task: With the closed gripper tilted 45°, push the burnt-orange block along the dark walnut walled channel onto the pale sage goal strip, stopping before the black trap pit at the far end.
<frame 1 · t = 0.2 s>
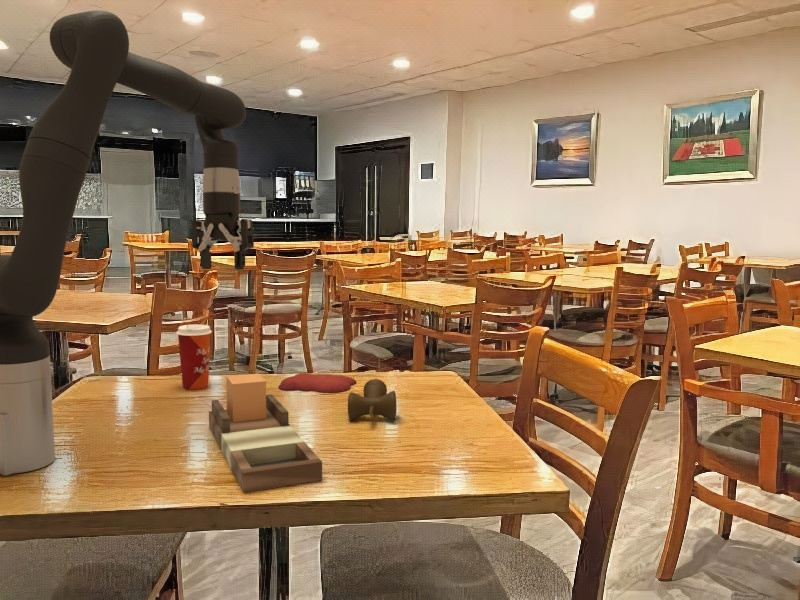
hand: (222, 269, 142), 28 cm above the table, tool pointing down, fingers open, 8 cm apart
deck: (249, 435, 124), on the table
block: (246, 415, 125), point 3 cm above the table, touching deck
kendama: (372, 415, 138), on the table
patty: (317, 387, 160), on the table
paper cup: (195, 387, 156), on the table
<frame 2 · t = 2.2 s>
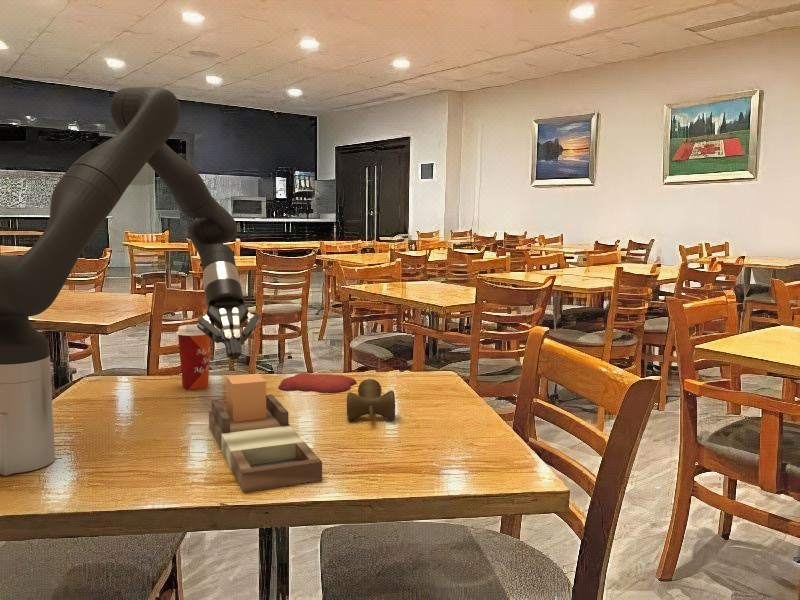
hand: (235, 357, 133), 12 cm above the table, tool tilted 45°, fingers closed
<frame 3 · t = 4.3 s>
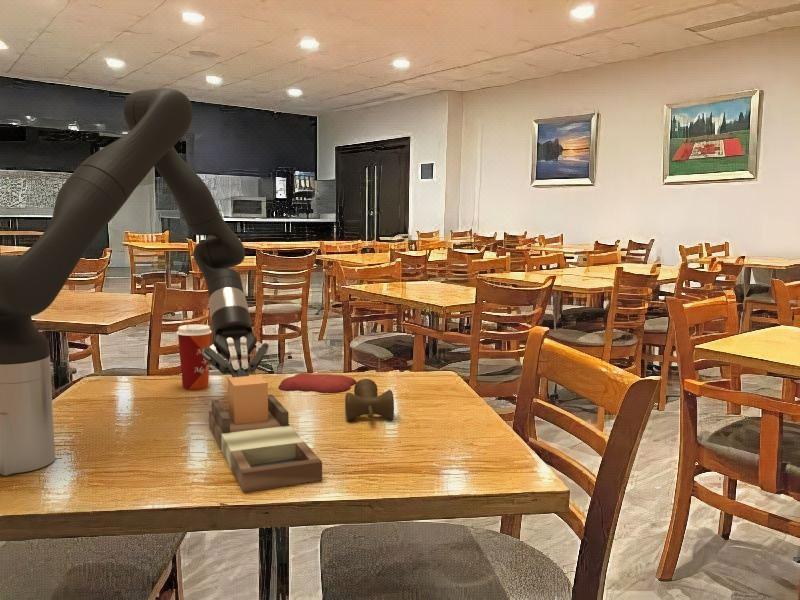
hand: (243, 389, 127), 7 cm above the table, tool tilted 45°, fingers closed
block: (247, 417, 124), point 3 cm above the table, touching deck
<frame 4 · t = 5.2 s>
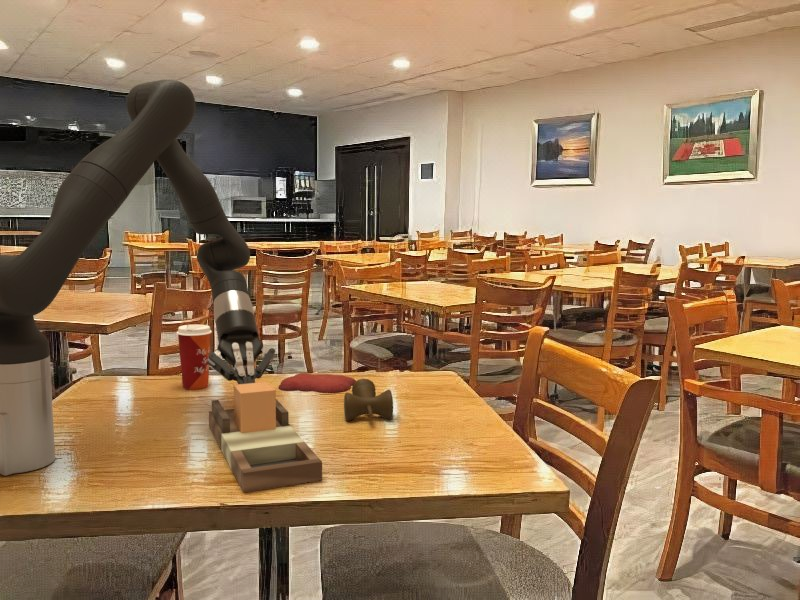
hand: (249, 397, 122), 7 cm above the table, tool tilted 45°, fingers closed
block: (254, 426, 120), point 3 cm above the table, touching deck, gripper
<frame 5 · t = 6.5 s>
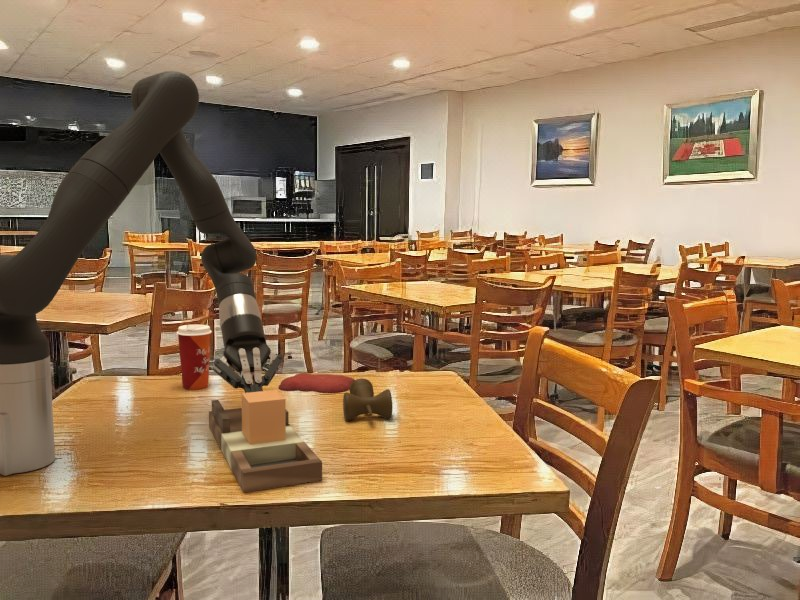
hand: (256, 405, 117), 7 cm above the table, tool tilted 45°, fingers closed
block: (263, 436, 114), point 3 cm above the table, touching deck, gripper
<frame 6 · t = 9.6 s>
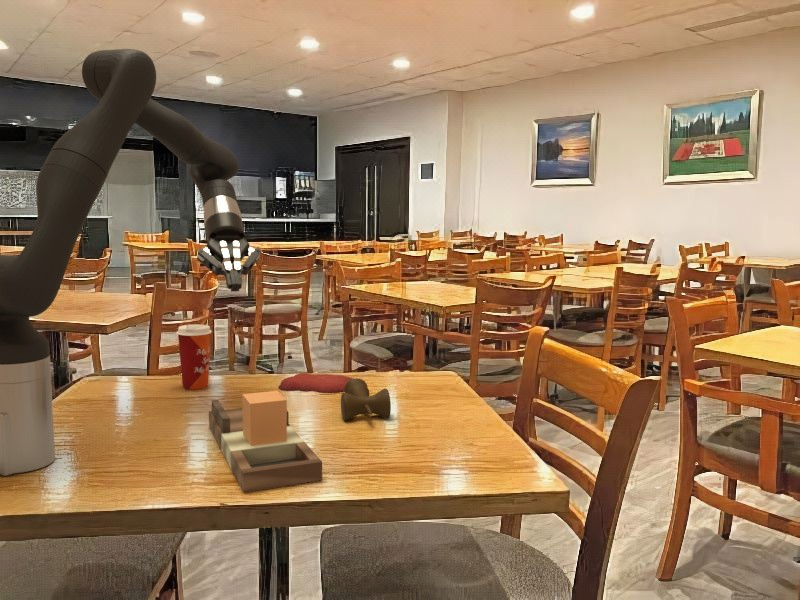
hand: (235, 288, 130), 26 cm above the table, tool tilted 45°, fingers closed
block: (264, 437, 114), point 3 cm above the table, touching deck
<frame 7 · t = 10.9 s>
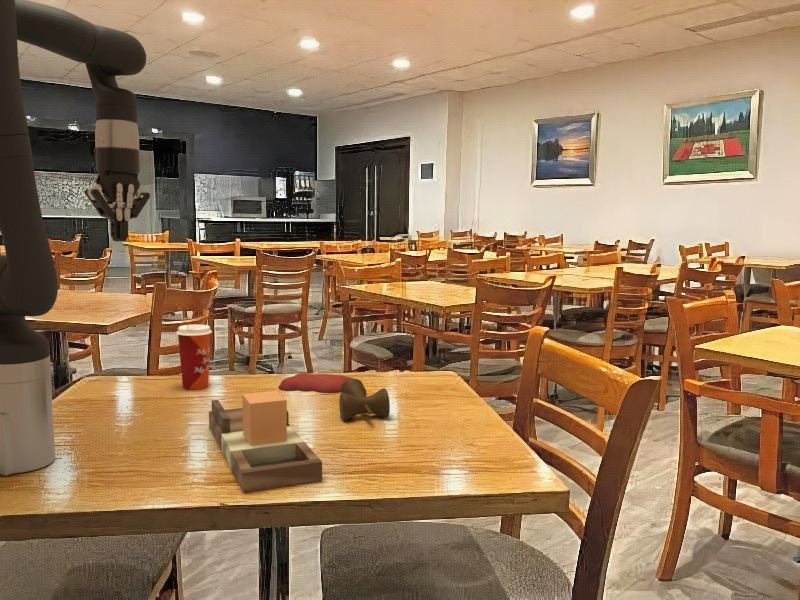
hand: (119, 241, 127), 34 cm above the table, tool pointing down, fingers closed
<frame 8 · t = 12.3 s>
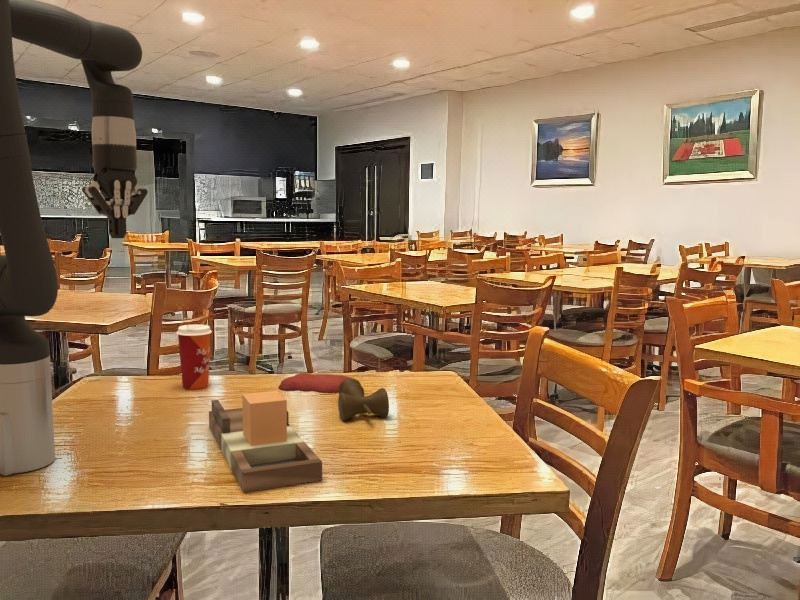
hand: (117, 238, 127), 35 cm above the table, tool pointing down, fingers closed
at the end: block inside the target area on the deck (0.4 cm from its centre), point 3.0 cm above the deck's base; block tilted 0°; block moved 13.1 cm from its start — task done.
